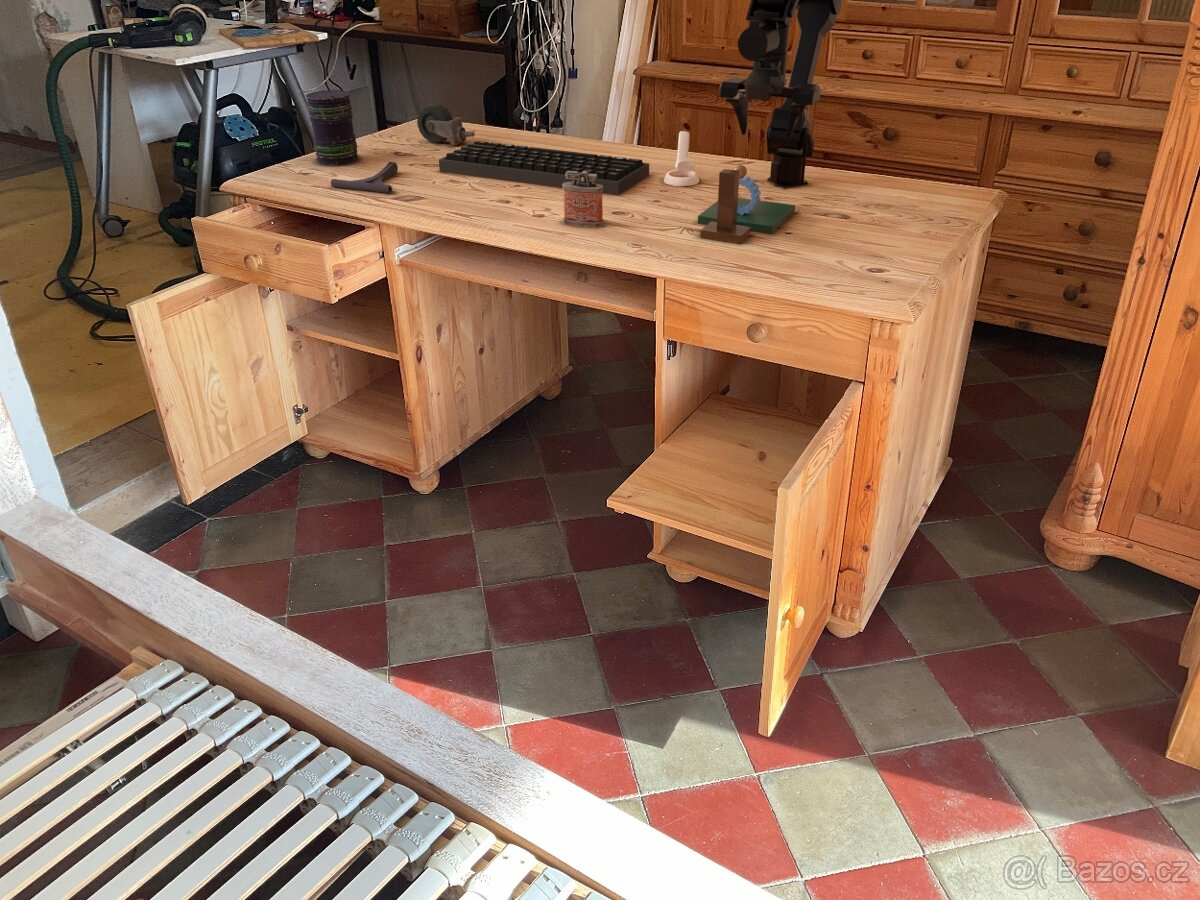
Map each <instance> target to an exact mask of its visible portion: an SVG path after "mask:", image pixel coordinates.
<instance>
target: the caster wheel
mask: <svg viewBox="0 0 1200 900" xmlns="http://www.w3.org/2000/svg"><path fill="white" fill-rule="evenodd" d="M416 123H417V124H416V126H417V128H418V130H419V133H420V134H421V136H422V137H423V139H425V140H427V141H428V142H429V143H434V144H440V143H442V142H445V141H447V140H449V141H450V145H451V146H452V147H455V146H458V145H460V144H462V143H465V142H466V140H467V138H471V137H472V138H474V137H475V135H476V134H475V132H474V131H466V128H465V127H463V121H462V117H459V116H458V117H456V116H455V117H453V116H452V113H451V112H450V111H449V110H448V108H446V107H445V106H443V104H441V103H430V104H427V105H425V106H423V107H422V108H421V109H420V110H419V112H418V115H417V117H416Z"/></svg>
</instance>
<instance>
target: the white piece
mask: <svg viewBox="0 0 1200 900" xmlns="http://www.w3.org/2000/svg"><path fill="white" fill-rule="evenodd" d="M689 145H690V133H689V132H688V131H684V130H680V131H679V133H678V142H677V155H676V162H675V165H674V167H675V169H674V170H669V171H667V172H666V174H665V176H664V179H663V183H664V184H665V185H669V186H674V187H690V186H694V185H695V186H696V185H697V184H699V183H700V180H699V176H698V174H697V172H695V171H693V170H694V169H695V167H696V164H695V163H696V162H695V161H694V159H691V158H689Z"/></svg>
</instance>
